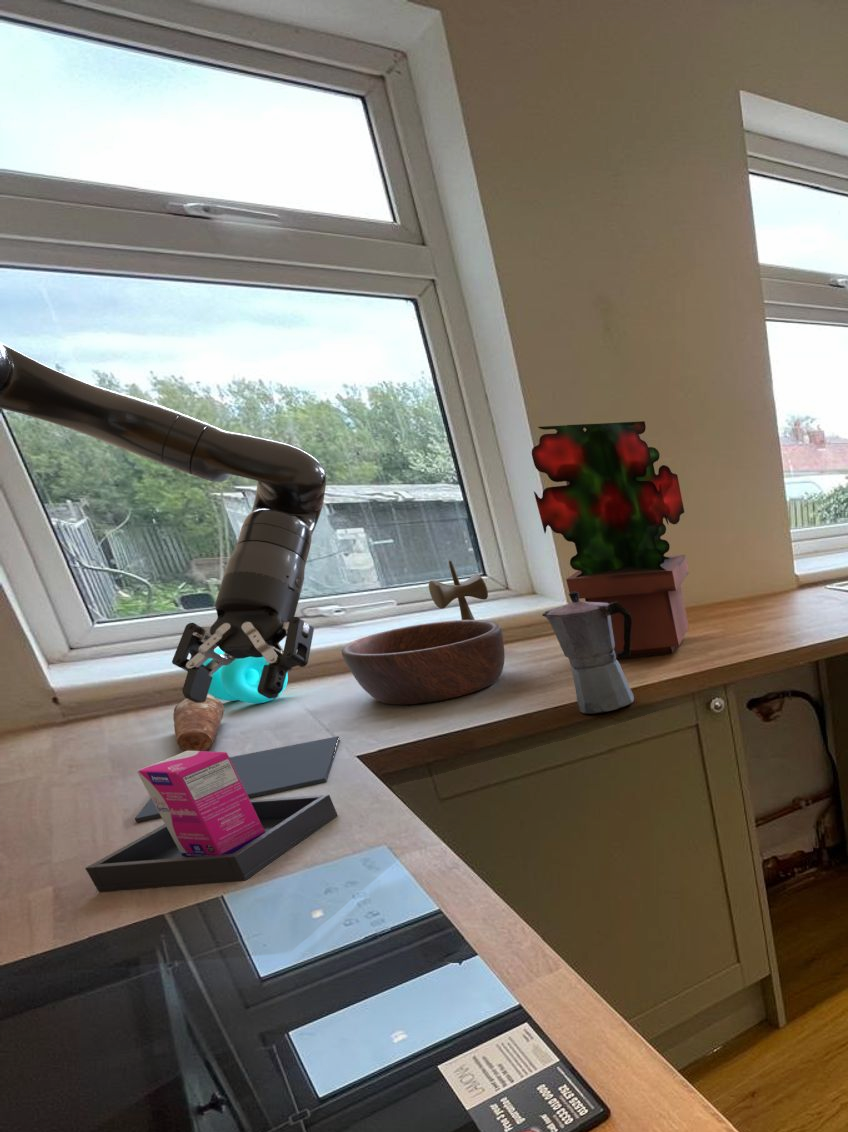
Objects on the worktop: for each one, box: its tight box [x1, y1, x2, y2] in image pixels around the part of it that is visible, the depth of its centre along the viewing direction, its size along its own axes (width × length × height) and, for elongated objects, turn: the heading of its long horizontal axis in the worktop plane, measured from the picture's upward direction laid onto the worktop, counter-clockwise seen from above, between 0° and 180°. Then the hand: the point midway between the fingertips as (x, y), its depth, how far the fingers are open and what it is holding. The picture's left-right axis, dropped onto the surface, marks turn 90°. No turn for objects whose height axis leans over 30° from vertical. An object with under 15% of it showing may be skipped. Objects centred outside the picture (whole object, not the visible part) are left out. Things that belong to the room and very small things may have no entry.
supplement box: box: [136, 750, 266, 856], centre depth 95 cm, size 6×6×12 cm
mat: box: [134, 736, 340, 823], centre depth 118 cm, size 20×20×1 cm
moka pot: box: [541, 592, 635, 715], centre depth 137 cm, size 10×15×20 cm, turn 88°
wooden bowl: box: [341, 619, 506, 705], centre depth 152 cm, size 25×25×10 cm
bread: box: [172, 694, 225, 752], centre depth 133 cm, size 6×19×6 cm, turn 38°
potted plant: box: [531, 420, 690, 660], centre depth 165 cm, size 22×22×45 cm
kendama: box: [428, 560, 489, 620], centre depth 173 cm, size 6×10×20 cm, turn 142°
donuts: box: [203, 647, 289, 705], centre depth 150 cm, size 10×10×10 cm
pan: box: [84, 794, 339, 893], centre depth 97 cm, size 16×16×3 cm
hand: (230, 697), depth 99 cm, fingers open, 8 cm apart
